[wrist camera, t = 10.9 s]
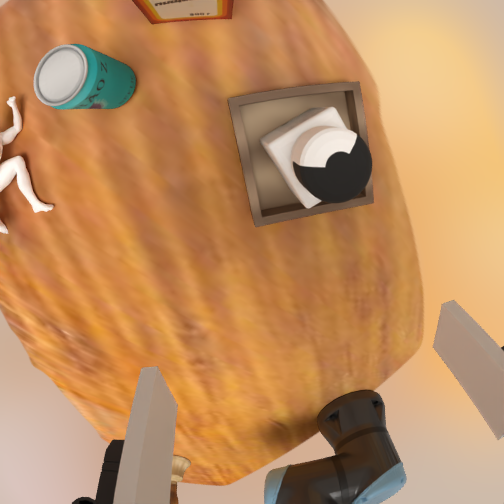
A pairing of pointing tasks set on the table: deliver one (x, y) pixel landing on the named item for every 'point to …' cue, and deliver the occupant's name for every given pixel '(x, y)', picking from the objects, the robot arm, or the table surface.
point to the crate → (273, 116)
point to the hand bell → (177, 475)
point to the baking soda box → (184, 10)
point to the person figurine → (17, 166)
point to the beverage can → (82, 79)
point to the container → (319, 157)
